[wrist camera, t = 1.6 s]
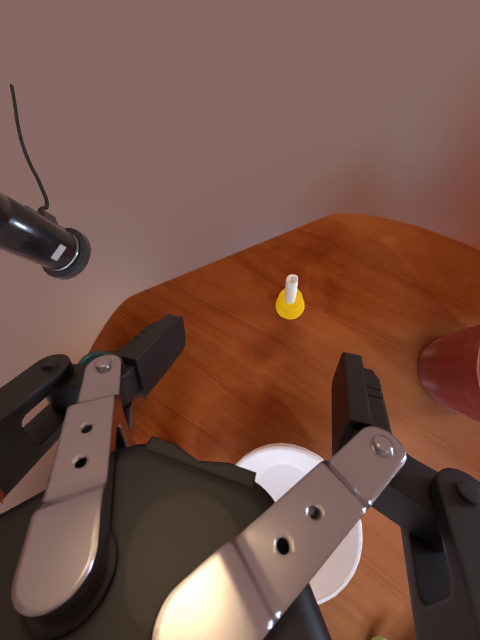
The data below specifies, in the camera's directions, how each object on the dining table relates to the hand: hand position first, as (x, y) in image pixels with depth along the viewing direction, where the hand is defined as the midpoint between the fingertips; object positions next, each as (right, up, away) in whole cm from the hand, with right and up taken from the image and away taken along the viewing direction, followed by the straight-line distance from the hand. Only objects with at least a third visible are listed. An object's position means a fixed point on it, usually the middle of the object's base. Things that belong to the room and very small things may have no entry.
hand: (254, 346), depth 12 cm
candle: (+9, +4, +33) cm, 34 cm away
